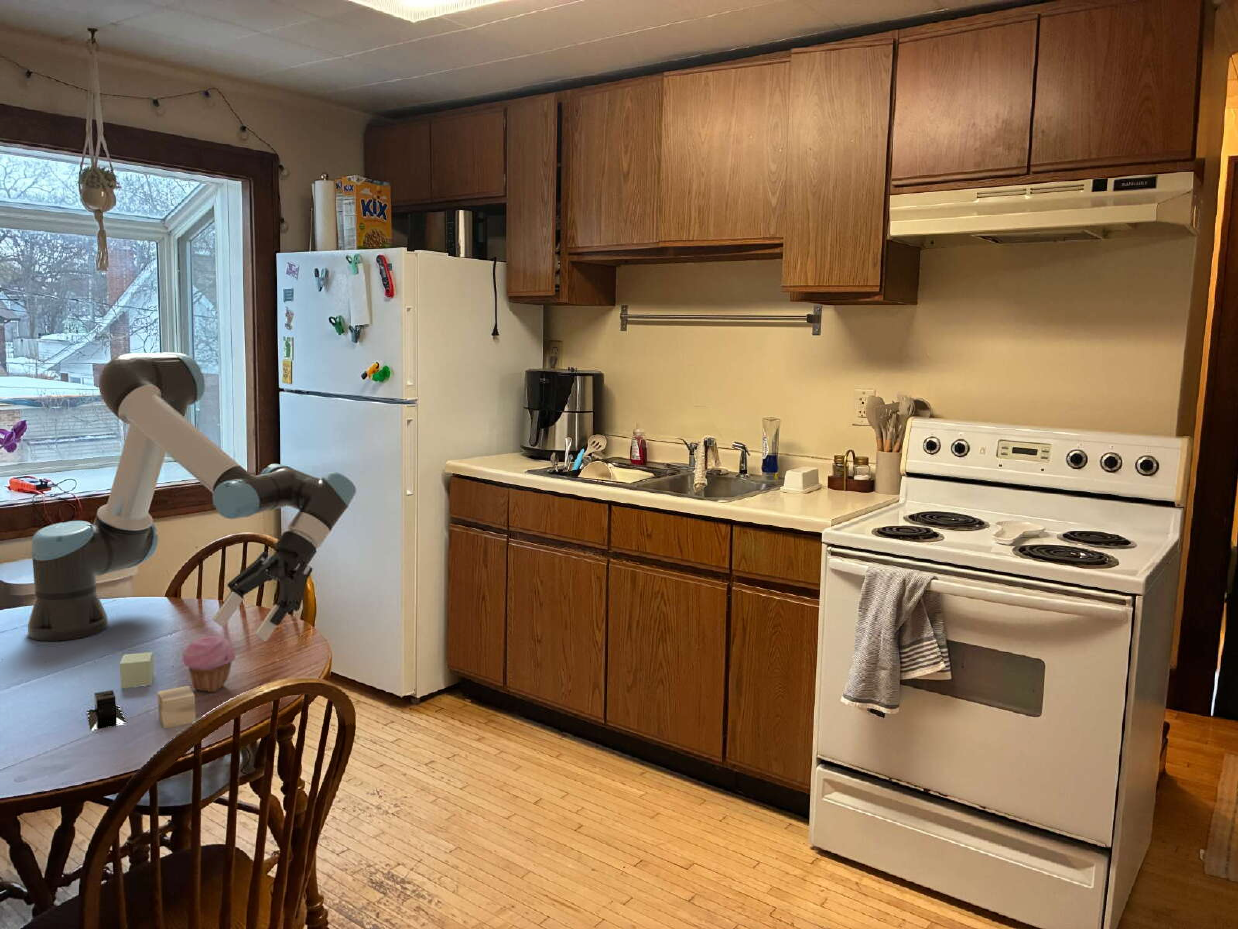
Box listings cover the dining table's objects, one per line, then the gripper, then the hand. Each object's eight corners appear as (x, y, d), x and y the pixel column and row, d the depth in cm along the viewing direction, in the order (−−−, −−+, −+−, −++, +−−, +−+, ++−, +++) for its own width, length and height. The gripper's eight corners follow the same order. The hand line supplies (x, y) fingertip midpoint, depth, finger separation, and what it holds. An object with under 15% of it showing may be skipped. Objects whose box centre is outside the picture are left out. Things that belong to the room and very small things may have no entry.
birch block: (159, 718, 163) (157, 691, 162) (189, 712, 166) (188, 685, 165) (164, 729, 159) (162, 701, 158) (195, 722, 162) (194, 695, 161)
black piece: (133, 729, 160) (132, 703, 159) (84, 739, 156) (82, 712, 155) (124, 703, 170) (123, 679, 169) (78, 711, 166) (76, 687, 165)
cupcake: (174, 693, 174) (172, 641, 172) (208, 676, 182) (206, 627, 180) (213, 700, 171) (211, 647, 170) (246, 683, 179) (244, 633, 178)
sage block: (125, 679, 180) (123, 654, 179) (154, 676, 181) (152, 652, 181) (121, 689, 175) (119, 663, 174) (150, 686, 177) (149, 661, 176)
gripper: (353, 559, 184) (291, 653, 174) (275, 541, 198) (214, 627, 188) (330, 538, 179) (265, 634, 169) (252, 520, 193) (187, 608, 183)
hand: (238, 630), depth 179 cm, fingers open, 13 cm apart
